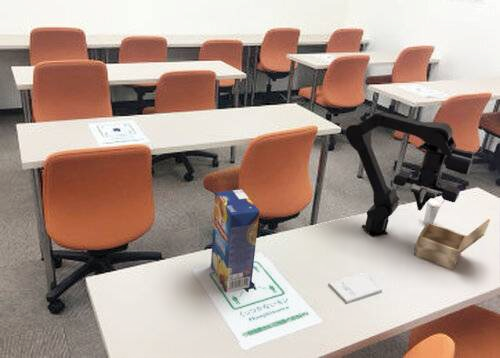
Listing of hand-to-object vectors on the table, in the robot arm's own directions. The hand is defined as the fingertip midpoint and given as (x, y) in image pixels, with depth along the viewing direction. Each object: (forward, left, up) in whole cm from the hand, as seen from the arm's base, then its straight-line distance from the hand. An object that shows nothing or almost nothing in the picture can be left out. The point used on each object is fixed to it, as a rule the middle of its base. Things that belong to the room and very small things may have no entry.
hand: (419, 209), depth 145 cm
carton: (+5, -7, -13) cm, 16 cm away
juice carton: (-62, -2, -13) cm, 64 cm away
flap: (+10, -14, -2) cm, 17 cm away
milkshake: (+16, +10, -13) cm, 23 cm away
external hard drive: (-30, -15, -14) cm, 36 cm away
